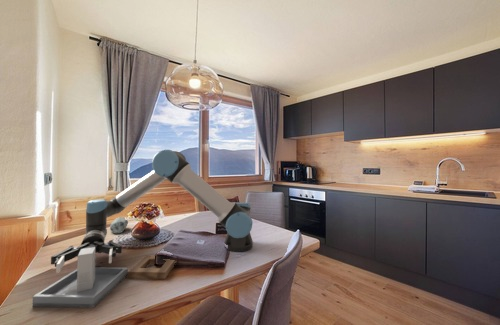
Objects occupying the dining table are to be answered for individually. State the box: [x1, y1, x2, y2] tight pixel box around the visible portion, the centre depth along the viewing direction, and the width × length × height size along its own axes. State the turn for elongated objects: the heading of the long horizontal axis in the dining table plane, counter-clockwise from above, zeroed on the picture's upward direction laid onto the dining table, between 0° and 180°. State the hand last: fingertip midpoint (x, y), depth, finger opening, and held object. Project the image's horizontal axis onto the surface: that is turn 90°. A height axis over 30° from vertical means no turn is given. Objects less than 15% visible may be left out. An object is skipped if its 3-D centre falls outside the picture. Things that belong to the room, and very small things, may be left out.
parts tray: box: [32, 266, 129, 308], centre depth 72 cm, size 18×18×3 cm
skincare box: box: [76, 247, 96, 292], centre depth 72 cm, size 6×4×12 cm
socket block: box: [126, 255, 175, 280], centre depth 86 cm, size 14×14×2 cm
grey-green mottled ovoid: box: [109, 216, 129, 234], centre depth 132 cm, size 14×10×10 cm
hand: (85, 263), depth 69 cm, fingers open, 13 cm apart
